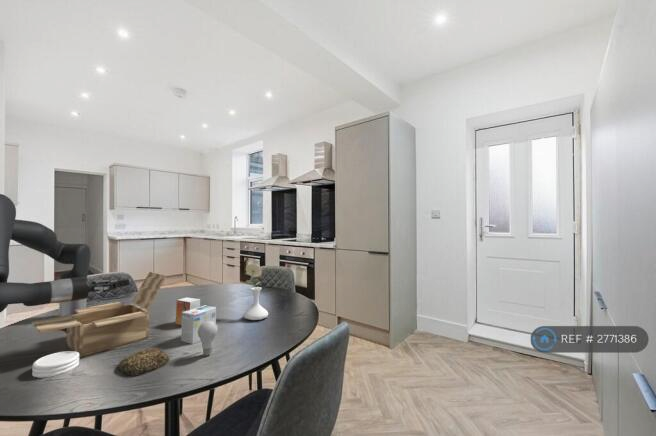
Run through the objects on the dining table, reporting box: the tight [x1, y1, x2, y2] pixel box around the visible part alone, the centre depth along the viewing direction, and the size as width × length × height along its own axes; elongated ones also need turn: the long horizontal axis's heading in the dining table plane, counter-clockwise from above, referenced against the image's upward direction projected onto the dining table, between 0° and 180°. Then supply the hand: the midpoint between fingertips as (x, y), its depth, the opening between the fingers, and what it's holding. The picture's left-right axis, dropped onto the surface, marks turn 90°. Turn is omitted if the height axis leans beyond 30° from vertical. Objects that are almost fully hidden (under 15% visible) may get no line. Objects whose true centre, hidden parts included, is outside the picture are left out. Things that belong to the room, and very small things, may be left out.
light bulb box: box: [180, 304, 217, 345], centre depth 108 cm, size 11×7×11 cm, turn 154°
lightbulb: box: [198, 321, 219, 356], centre depth 94 cm, size 6×6×11 cm
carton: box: [31, 301, 150, 359], centre depth 100 cm, size 26×29×11 cm
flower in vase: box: [242, 263, 269, 321], centre depth 132 cm, size 13×11×25 cm
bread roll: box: [118, 348, 171, 377], centre depth 87 cm, size 13×12×5 cm
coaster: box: [31, 350, 80, 379], centre depth 84 cm, size 10×10×4 cm
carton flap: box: [131, 271, 168, 310], centre depth 114 cm, size 14×1×13 cm
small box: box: [175, 296, 201, 326], centre depth 123 cm, size 8×6×10 cm
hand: (128, 282), depth 109 cm, fingers closed
